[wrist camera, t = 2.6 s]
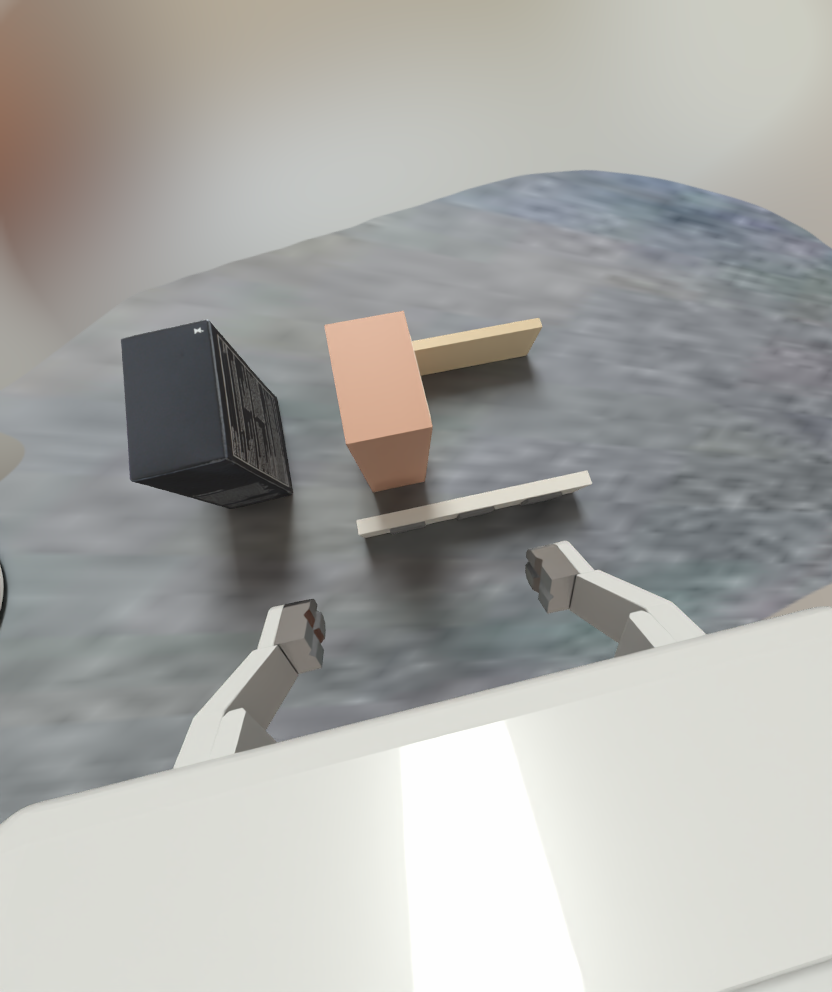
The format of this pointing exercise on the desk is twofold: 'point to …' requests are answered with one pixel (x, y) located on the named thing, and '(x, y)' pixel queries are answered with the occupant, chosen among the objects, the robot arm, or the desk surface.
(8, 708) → the desk surface
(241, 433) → the small box
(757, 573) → the desk surface
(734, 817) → the robot arm
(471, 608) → the desk surface
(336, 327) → the carton
